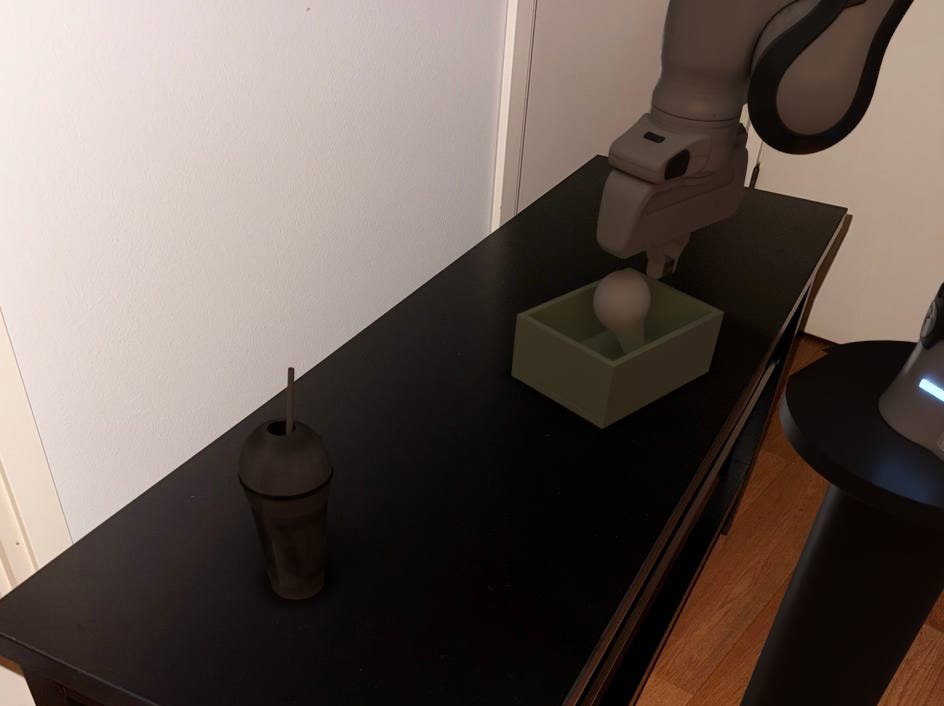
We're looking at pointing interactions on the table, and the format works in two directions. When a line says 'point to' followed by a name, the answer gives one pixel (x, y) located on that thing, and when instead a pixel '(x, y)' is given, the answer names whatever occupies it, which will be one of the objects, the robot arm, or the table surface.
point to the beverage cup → (289, 500)
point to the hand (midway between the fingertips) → (660, 274)
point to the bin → (613, 352)
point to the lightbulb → (623, 307)
